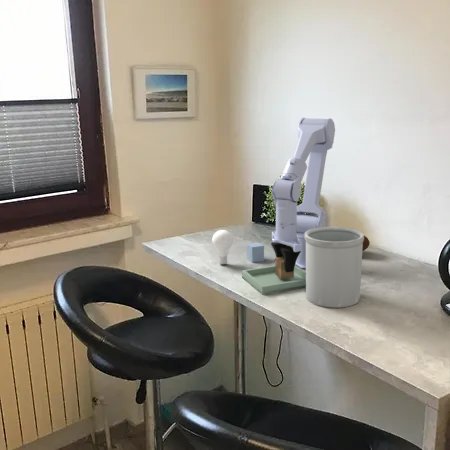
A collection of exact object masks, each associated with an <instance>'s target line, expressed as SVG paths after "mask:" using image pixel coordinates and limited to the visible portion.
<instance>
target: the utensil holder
mask: <svg viewBox="0 0 450 450" xmlns="http://www.w3.org/2000/svg"><path fill="white" fill-rule="evenodd" d="M364 235H365V234H364V232H362V231H361V230H359V229H355V228H352V227H348V226H347V227H345V226H326V227H319V228H314V229H310V230H308V231H306V232H305V240H306V268H305V272H306V287H305V288H306V289H305V291H306V299H307V300H308V301H309V302H310V303H312V304H314V305H317V306H320V307H324V308H332V309H333V308H335V309H337V308H339V309H340V308H347V307H351V306H354V305H355V304H357V303H358V302H360V298H361V296H360V295H361V285H362V267H363V266H362V264H363V262H362V261H363V251H362V248H363V241H364Z"/></svg>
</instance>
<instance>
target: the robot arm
mask: <svg viewBox="0 0 450 450" xmlns="http://www.w3.org/2000/svg"><path fill="white" fill-rule="evenodd" d="M335 135H336V126H335V122H334V120H333V119H332V118H308V117H307V118H305V117H302V118H300V120H299V121H298V123H297V137H298V141H297V145H296V147H295V150H294V154H293V157H290V158H289V159H288V160H287V161H286V164H285V167H284V169H283V172H282V173H281V176H280V178H279V179H277V180H275V181H274V183H273V185H272V190H271V196H272V198H273V205H274V207H275V230H274V231H271V244H270V245H271V248H272V249H273V251H274V255H275V258H277V257H283V258H284V264H285V271H286V272H293V270H294V267H295V265H296V266H297V267H299V268H300V269H302V270H304V269H306V240H305V232H306V231H308V230H310V229H314V228H319V227H327V225H328V224H327V222H328V221H327V215H328V214H327V212H326V210H325V209H324V208H323V207H321V206H320V200H321V192H322V185H323V178H324V172H325V168H326V167H325V166H326V159H327V155H328V151H329V150H330V149H332V148H333V144H334V141H335ZM308 157H309V158H308ZM307 159H308V165H307V163H306V161H307ZM306 171H307V172H306ZM305 173H306V178H305V185H304V191H303V197H302V203H301V204H299V205H298V201H299V200H300V197H301V192H302V186H303V184H302V181H303V178H304V177H305Z"/></svg>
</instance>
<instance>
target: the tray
mask: <svg viewBox="0 0 450 450" xmlns="http://www.w3.org/2000/svg"><path fill="white" fill-rule="evenodd" d="M241 278H242V279H243V280H244V281H245V282H247V283H248V284H249V285H250V286H251V287H253V288H254V289H255V290H256V292H258V293H259V294H261V295H268V294H276V293H280V292H286V291H292V290H297V289H305V288H306V270H304V269H302V268H300V267H299V266H297V265H296V264H295V267H294V277H292V278H285V279H280V278H279V277H278V276H277V275H275V265H268V266H263V267H257V268H249V269H243V270H242V269H241Z"/></svg>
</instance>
